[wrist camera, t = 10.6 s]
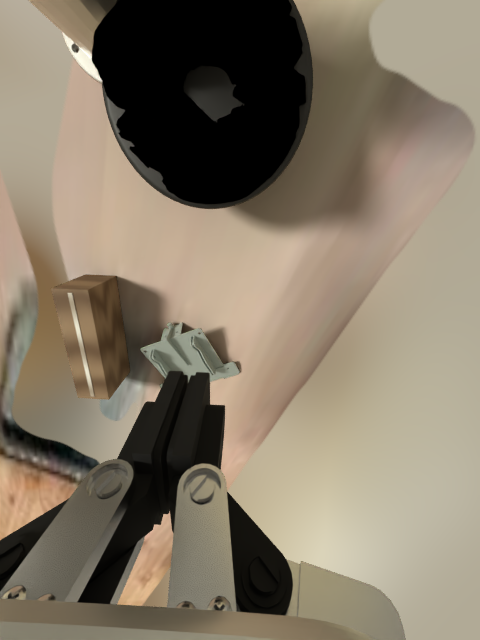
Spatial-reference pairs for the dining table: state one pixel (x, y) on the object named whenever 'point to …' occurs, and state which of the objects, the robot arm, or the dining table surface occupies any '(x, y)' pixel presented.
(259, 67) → the bowl of black rocks
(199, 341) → the metal bracket
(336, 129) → the dining table surface
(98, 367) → the block
